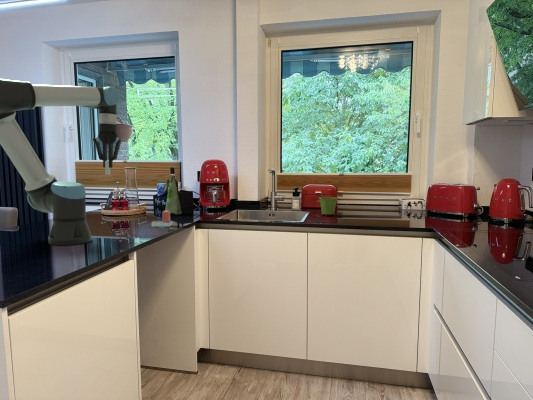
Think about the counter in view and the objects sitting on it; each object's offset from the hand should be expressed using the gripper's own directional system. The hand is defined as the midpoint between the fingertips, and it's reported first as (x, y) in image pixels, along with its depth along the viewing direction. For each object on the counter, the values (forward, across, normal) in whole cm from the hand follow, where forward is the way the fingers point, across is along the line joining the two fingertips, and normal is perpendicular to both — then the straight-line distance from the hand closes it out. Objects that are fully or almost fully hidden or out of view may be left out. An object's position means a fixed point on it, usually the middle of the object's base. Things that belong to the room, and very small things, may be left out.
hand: (107, 174), depth 179 cm
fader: (+23, -25, -10) cm, 35 cm away
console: (+25, -23, -10) cm, 35 cm away
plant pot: (+23, -116, -50) cm, 129 cm away
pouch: (+24, -20, -54) cm, 63 cm away
